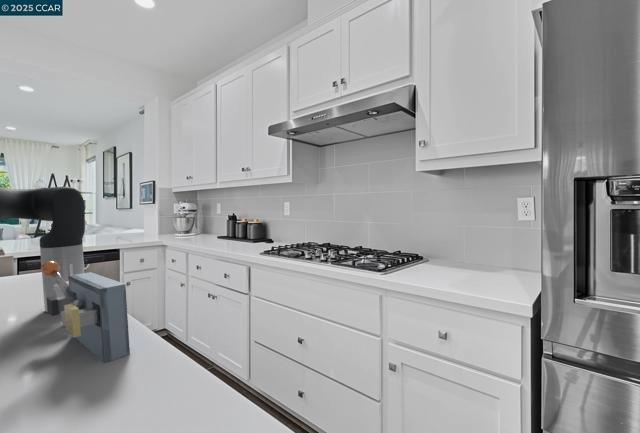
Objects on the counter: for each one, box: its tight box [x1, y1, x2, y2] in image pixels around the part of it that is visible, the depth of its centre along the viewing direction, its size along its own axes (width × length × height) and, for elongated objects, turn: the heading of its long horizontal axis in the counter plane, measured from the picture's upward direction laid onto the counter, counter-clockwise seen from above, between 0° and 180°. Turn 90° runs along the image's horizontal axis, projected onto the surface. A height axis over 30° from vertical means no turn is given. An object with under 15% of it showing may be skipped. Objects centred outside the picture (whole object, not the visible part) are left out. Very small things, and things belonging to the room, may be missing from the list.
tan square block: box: [64, 304, 99, 339], centre depth 57 cm, size 5×4×5 cm
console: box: [68, 271, 131, 364], centre depth 65 cm, size 20×5×13 cm, turn 50°
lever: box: [40, 261, 84, 310], centre depth 61 cm, size 3×3×10 cm
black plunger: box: [47, 296, 70, 317], centre depth 66 cm, size 4×4×3 cm
